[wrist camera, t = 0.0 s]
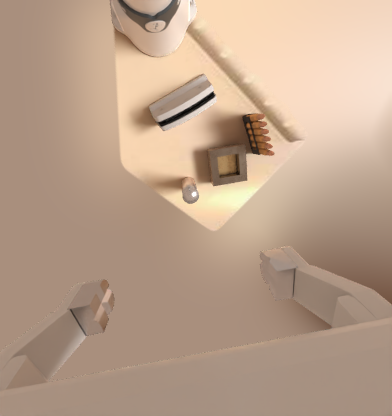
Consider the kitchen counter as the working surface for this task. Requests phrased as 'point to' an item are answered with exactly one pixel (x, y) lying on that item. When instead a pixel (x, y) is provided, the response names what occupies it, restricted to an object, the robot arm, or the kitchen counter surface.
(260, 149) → the ammunition clip
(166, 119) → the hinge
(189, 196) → the pin
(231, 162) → the square nut block
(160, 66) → the kitchen counter surface
